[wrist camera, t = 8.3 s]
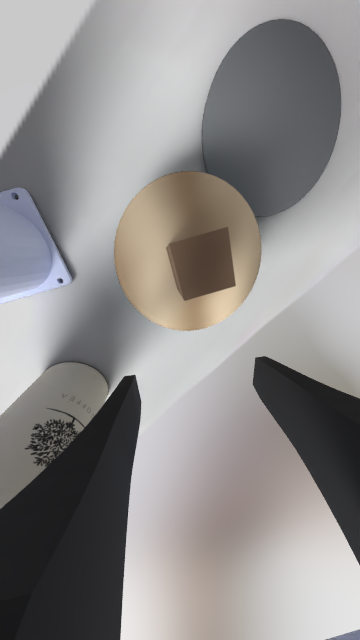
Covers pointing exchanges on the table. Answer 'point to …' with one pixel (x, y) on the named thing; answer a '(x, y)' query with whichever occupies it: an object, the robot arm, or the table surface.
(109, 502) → the robot arm
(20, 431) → the travel mug
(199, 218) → the lid
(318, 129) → the mat
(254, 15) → the table surface
